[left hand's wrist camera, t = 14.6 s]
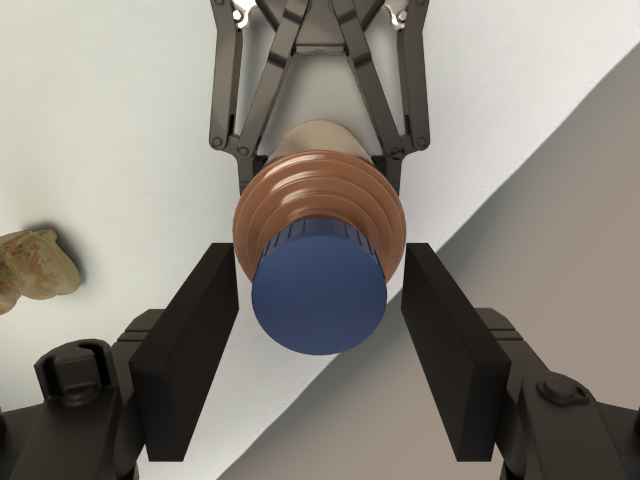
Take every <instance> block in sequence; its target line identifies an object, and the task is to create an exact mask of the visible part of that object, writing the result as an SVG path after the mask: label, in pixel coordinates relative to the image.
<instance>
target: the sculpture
mask: <svg viewBox="0 0 640 480" xmlns="http://www.w3.org/2000/svg"><path fill="white" fill-rule="evenodd" d="M56 239H57V235H56V233H55V232H54V231H53V230H51V229H44V230H39V231H36V232H32V231H29V230H25V231H19V232H15V233H11V234H8V235H4V236H1V237H0V315H2V314H4V313H7V312H8V311H10V310H11V309H12V308H13V307H14V306H15V304H16V302H17V300H18V299H19V298H20V297H21V295H24V296H26V297H28V298H31V299H34V300H44V299H49V298H52V297H54V296H56V295H66V294H70V293H73V292H74V291H75V290H76V289H77V288H78V287H79V284H80V276H79V273H78V270H77V268H76V266H75V265H74V263H73V262H72V261H71V260H70V258H69V257H68V256H67V255H66V254H65V253H64V252H63V251H62V250H61V249H60V248H59V247H58V245H57V244H56V242H55V240H56Z"/></svg>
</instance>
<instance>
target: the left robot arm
mask: <svg viewBox="0 0 640 480" xmlns="http://www.w3.org/2000/svg"><path fill="white" fill-rule="evenodd" d="M238 311H239V302H238V290H237V279H236V267H235V255H234V243H212V244H211V245H210V247H209V248H208V250H207V251H206V252H205V254H204V255H203V257H202V258H201V260H200V261H199V262H198V264H197V265H196V267H195V268H194V269H193V271H192V272H191V274H190V275H189V276H188V278H187V279H186V281H185V282H184V283H183V285H182V286H181V288H180V289H179V291H178V292H177V293H176V295H175V296H174V298H173V299H172V300H171V302H170V303H169V305H168V306H167V307H166V309H149V310H147V311H146V312H144V313H142V314H141V315H139V316H138V317H136V318H135V319H134V320H133V321H132V322H131V323H130V325H129V326H128V327H127V328H126V329H125V333H122V334H121V336H120V337H119V338H118V339H117V342H115V343H114V344H113V345H112V347H111V348H110V345H109V344H108V343H106V342H105V341H103V340H98V339H82V340H77V341H73V342H69V343H66V344H64V345H61V346H59V347H57V348H54V349H52V350H51V351H49V352H48V353H46V354H45V355H43V356H42V357H41V358H40V359H39V360H38V361H37V362H36V364H35V365H34V368H35V371H36V375H37V378H38V381H39V384H40V387H41V390H42V393H43V397H44V402H43V403H42V404H39V405H35V406H30V407H26V408H21V409H17V410H12V411H8V412H3V413H2V410H1V407H0V480H139V472H138V466H137V462H136V461H137V459H138V457H139V455H140V453H141V451H142V449H143V447H144V445H146V449H147V454H148V459H149V462H183V460H184V457H185V454H186V451H187V449H188V446H189V443H190V441H191V438H192V435H193V433H194V430H195V427H196V424H197V422H198V419H199V416H200V414H201V411H202V408H203V406H204V403H205V400H206V397H207V395H208V392H209V389H210V387H211V384H212V381H213V379H214V376H215V373H216V370H217V368H218V365H219V362H220V360H221V357H222V354H223V352H224V349H225V346H226V343H227V341H228V338H229V335H230V333H231V330H232V327H233V325H234V322H235V319H236V316H237V314H238ZM401 311H402V314H403V316H404V319H405V322H406V325H407V327H408V330H409V333H410V335H411V338H412V341H413V343H414V346H415V349H416V351H417V354H418V357H419V359H420V362H421V365H422V368H423V370H424V373H425V376H426V379H427V381H428V384H429V387H430V389H431V392H432V395H433V397H434V400H435V403H436V406H437V408H438V411H439V414H440V416H441V419H442V422H443V424H444V427H445V430H446V433H447V435H448V438H449V440H450V443H451V446H452V449H453V451H454V454H455V457H456V459H457V461H458V462H490V461H491V459H492V454H493V449H494V444H495V443H496V445H497V447H498V448H499V450H500V453H501V454H502V457H503V458H504V462H503V466H502V471H501V475H500V479H499V480H640V407H639V410H638V411H636V410H631V409H627V408H622V407H617V406H613V405H608V404H604V403H600V402H597V401H596V399H595V398H594V397H593V395H592V394H591V393H590V391H589V390H588V389H587V388H585V387H584V386H583V385H581V384H580V383H579V382H577V381H575V380H573V379H571V378H569V377H567V376H565V375H562V374H559V373H555V372H552V371H550V370H549V369H548V368H547V367H546V366H545V364H544V363H543V362H542V361H541V359H540V358H539V357H538V356H537V355H536V353H535V352H534V351H533V350H532V348H531V347H530V346H529V345H528V344H527V342H526V341H523V338H522V336H521V335H520V334H519V333H518V331H516V330H515V328H514V327H513V325H512V324H511V323H510V322H509V320H508V319H507V318H506V317H504V316H503V315H501V314H500V313H498V312H497V311H495V310H493V309H492V308H473V306H472V305H471V303H470V302H469V300H468V299H467V298H466V296H465V295H464V293H463V292H462V291H461V289H460V288H459V286H458V285H457V283H456V282H455V281H454V279H453V278H452V276H451V275H450V274H449V272H448V271H447V269H446V268H445V267H444V265H443V264H442V262H441V261H440V260H439V258H438V257H437V255H436V254H435V252H434V251H433V250H432V248H431V247H430V245H429V244H428V243H406V255H405V267H404V279H403V291H402V303H401Z"/></svg>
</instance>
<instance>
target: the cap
mask: <svg viewBox="0 0 640 480" xmlns="http://www.w3.org/2000/svg"><path fill="white" fill-rule="evenodd" d="M385 280H386V277H385V274H384V271H383V269H382V266H381V263H380V260H379V257H378V254H377V252H376V249H375V250H374V249H373V247H372V246H371V244H370V241H369V239H368V238H367V239H366V238H365V237H364V236H363V235H362V234H361V233H360V231H359V230H358V229H357V230H356V229H355V228H353V227H351V226H349V225H348V224H347V223H346V222H345V223H343V222H340V221H336V220H334V219H333V218H331V219H326V218H319V217H317V218H313V219H306V220H305V219H302V221H299V222H296V223H293V224H291V223H290V224H289V226H287V227H286V228H284V229H283V230H281V231H278V232H277V234H276V235H275V236H274V237H273V239H272V240H271V241H268V243H267V246H266V248H265V250H264V252H262V253H261V256H260V258H259V261H258V264H257V267H256V271H255V274H254V277H253V280H252V282H253V285H252V293H251V294H252V305H253V310H254V313H255V315H256V318H257V320H258V322H259V324H260V325H261V326H262V328H263V329H264V331H265V332H266V333H267V334H268V335H269V336H270V337H271V338H272V339H274V340H275V341H276V342H277V343H279V344H281V345H282V346H284V347H286V348H288V349H290V350H293V351H296V352H299V353H303V354H308V355H331V354H336V353H340V352H343V351H346V350H348V349H351V348H353V347H355V346H356V345H358V344H360V343H361V342H362V341H364V340H365V339H366V338H367V337H368V336H369V335H370V334H372V332H373V331H374V330H375V329H376V327H377V326H378V324H379V323H380V321H381V319H382V317H383V314H384V311H385V308H386V302H387V288H386V283H385Z"/></svg>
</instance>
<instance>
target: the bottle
mask: <svg viewBox="0 0 640 480" xmlns="http://www.w3.org/2000/svg"><path fill="white" fill-rule="evenodd" d="M317 217H319V218H326V219H331V218H333V219H334V220H336V221H340V222H343V223H345V222H346V223H347V224H348V225H349V226H351V227H353V228H355V229H356V230H357V229H358V230H359V231H360V233H361V234H362V235H363V236H364V237H365V238H366V239H367V238H368V239H369V241H370V244H371V246H372V247H373V249H374V250H375V249H376V252H377V254H378V257H379V260H380V263H381V266H382V269H383V271H384V274H385V277H386V280H385V283H386V284H387V283H388V281H389V280H390V279H391V277H392V276H393V274H394V272H395V271H396V269H397V267H398V265H399V263H400V260H401V258H402V255H403V252H404V248H405V242H406V221H405V215H404V211H403V208H402V205H401V202H400V200H399V198H398V196H397V194H396V192H395V190H394V189H393V187H392V186H391V184H390V183H389V182H388V180H387V179H386V178H385V176H384V175H383V174H382V172H381V171H380V170H379V168H378V167H377V166H376V165H375V163H374V162H373V161H372V159H371V158H370V157H369V155H368V154H367V153H366V151H365V150H364V149H363V147H362V146H361V145H360V143H359V142H358V141H357V139H356V138H355V137H354V136H353V135H352V133H351V132H349V131H348V130H347V129H346V128H344V127H343V126H341V125H339V124H337V123H334V122H331V121H326V120H313V121H308V122H305V123H302V124H300V125H298V126H297V127H295V128H294V129H292V130H291V131H290V132H289V133H288V134H287V135H286V136H285V137H284V139H283V140H282V141H281V143H280V144H279V145H278V146H277V148H276V149H275V150H274V152H273V153H272V154H271V156H270V157H269V158H268V160H267V161H266V162H265V163H264V165H263V166H262V167H261V169H260V170H259V171H258V173H257V174H256V175H255V177H254V178H253V179H252V180H251V182H250V183H249V184H248V186H247V187H246V188H245V190H244V192H243V194H242V196H241V197H240V199H239V202H238V205H237V207H236V210H235V215H234V219H233V243H234V248H235V252H236V255H237V258H238V261H239V263H240V265H241V267H242V269H243V271H244V273H245V274H246V276H247V277H248V279H249V280H250V281H251V283H252V284H253V282H252V280H253V277H254V274H255V271H256V267H257V264H258V261H259V258H260V256H261V253H262V252H264V250H265V248H266V246H267V243H268V241H271V240H272V239H273V237H274V236H275V235H276V234H277V232H278V231H281V230H283V229H284V228H286V227H287V226H289V224H290V223H291V224H293V223H296V222H299V221H302V219H305V220H306V219H313V218H317Z"/></svg>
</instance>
